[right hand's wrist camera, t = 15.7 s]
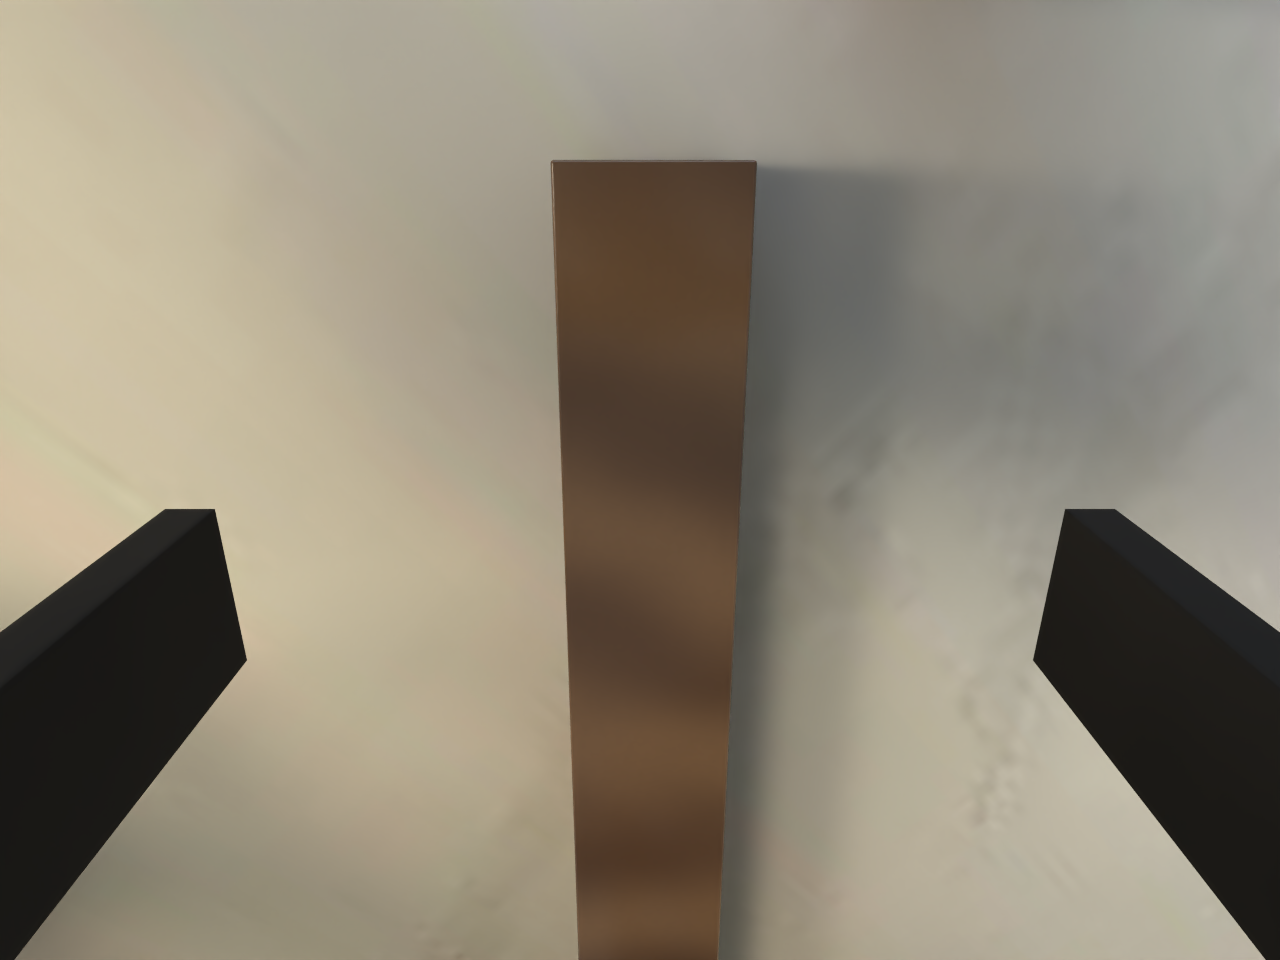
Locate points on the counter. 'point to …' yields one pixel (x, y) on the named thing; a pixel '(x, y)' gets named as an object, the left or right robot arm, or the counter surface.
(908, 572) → the counter surface
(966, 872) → the counter surface
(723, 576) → the bar
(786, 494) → the counter surface
